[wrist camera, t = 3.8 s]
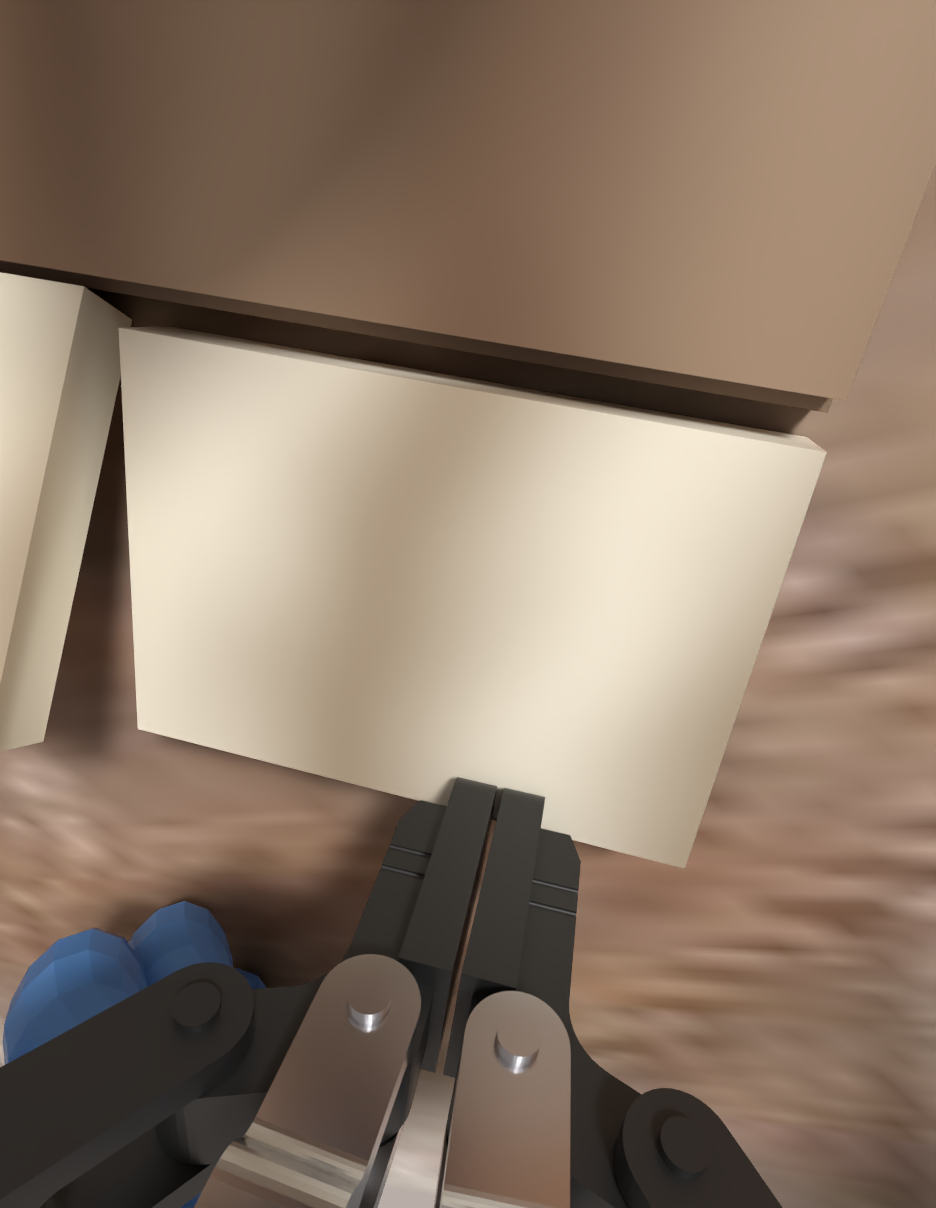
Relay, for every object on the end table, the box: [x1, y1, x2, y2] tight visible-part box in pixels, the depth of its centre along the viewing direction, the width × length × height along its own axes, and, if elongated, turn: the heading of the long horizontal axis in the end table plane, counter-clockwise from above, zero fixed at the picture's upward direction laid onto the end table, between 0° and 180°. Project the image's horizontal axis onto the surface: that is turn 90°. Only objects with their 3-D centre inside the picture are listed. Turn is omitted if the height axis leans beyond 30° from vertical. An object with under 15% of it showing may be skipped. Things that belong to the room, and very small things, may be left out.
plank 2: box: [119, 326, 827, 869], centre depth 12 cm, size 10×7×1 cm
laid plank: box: [0, 0, 936, 413], centre depth 10 cm, size 21×5×1 cm, turn 82°
